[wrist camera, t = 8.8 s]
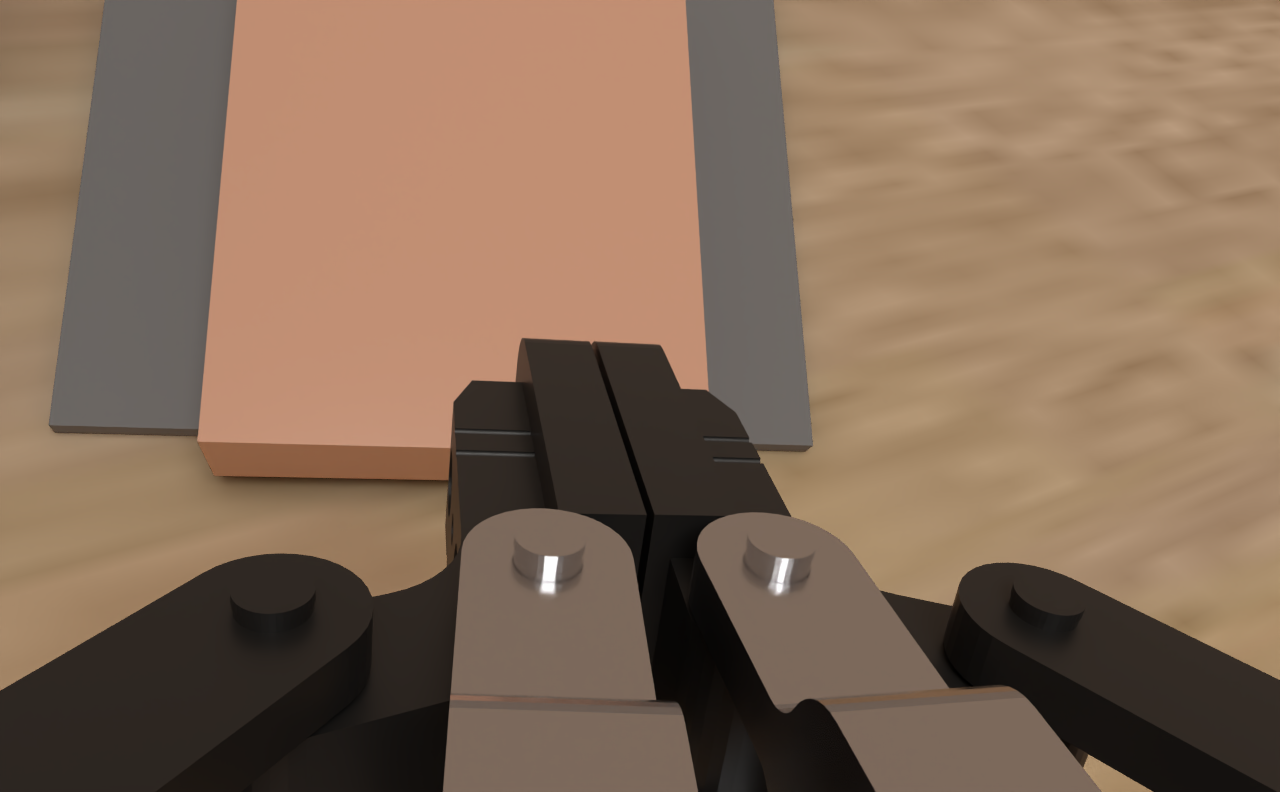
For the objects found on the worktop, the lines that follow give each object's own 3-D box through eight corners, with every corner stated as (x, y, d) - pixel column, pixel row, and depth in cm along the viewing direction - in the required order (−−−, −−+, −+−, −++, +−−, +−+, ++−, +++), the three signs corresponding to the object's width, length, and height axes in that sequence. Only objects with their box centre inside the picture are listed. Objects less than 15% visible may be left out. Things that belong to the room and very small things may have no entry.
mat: (760, -72, 39) (765, -84, 39) (805, 451, 33) (812, 445, 33) (131, -153, 35) (127, -169, 34) (54, 432, 29) (48, 425, 28)
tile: (679, 487, 31) (655, -3, 36) (712, 454, 28) (680, -75, 33) (215, 478, 29) (259, -48, 34) (197, 441, 26) (248, -131, 31)
